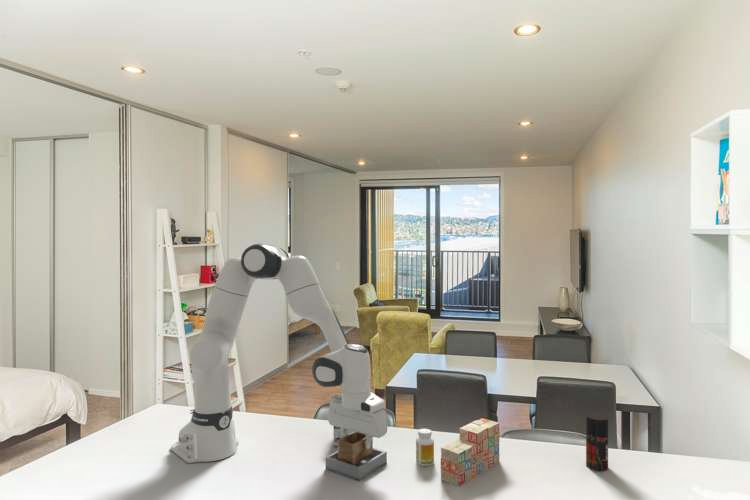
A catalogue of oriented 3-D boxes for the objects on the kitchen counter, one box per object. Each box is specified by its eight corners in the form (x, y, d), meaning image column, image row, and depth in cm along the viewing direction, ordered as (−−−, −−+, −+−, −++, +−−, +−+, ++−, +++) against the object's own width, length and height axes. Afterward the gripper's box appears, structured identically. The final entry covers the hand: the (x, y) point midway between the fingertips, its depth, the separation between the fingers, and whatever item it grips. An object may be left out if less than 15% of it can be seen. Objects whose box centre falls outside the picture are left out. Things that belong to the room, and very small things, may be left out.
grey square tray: (325, 469, 146) (325, 457, 146) (354, 453, 157) (354, 442, 156) (359, 481, 138) (358, 468, 138) (386, 463, 149) (386, 451, 149)
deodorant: (586, 460, 150) (586, 411, 150) (608, 464, 147) (608, 414, 147) (585, 469, 144) (585, 418, 144) (608, 473, 142) (607, 421, 142)
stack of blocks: (458, 487, 134) (458, 442, 134) (440, 479, 139) (440, 436, 139) (499, 462, 150) (499, 422, 149) (482, 456, 154) (482, 417, 154)
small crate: (353, 465, 142) (353, 444, 141) (338, 459, 145) (338, 439, 145) (372, 454, 149) (372, 434, 149) (357, 449, 152) (357, 430, 152)
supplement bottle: (437, 462, 150) (437, 430, 149) (426, 468, 146) (426, 435, 145) (423, 457, 153) (423, 426, 153) (412, 462, 149) (412, 431, 149)
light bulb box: (353, 446, 162) (353, 414, 161) (333, 446, 162) (332, 414, 162) (355, 434, 172) (355, 403, 172) (336, 434, 172) (335, 403, 172)
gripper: (323, 395, 151) (323, 440, 151) (377, 408, 139) (378, 457, 139) (336, 390, 156) (337, 434, 156) (390, 402, 144) (390, 449, 144)
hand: (356, 445), depth 147 cm, fingers closed on small crate, 6 cm apart
